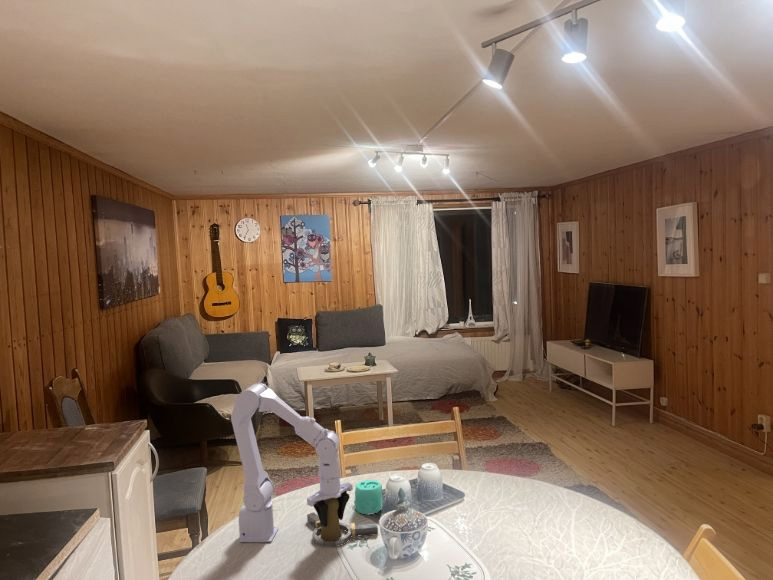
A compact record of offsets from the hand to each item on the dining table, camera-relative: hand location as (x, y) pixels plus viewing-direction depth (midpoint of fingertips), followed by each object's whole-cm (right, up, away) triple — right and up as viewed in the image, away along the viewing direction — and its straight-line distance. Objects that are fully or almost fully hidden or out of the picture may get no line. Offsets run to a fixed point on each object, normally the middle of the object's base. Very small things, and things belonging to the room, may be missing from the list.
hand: (331, 521), depth 161 cm
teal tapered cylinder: (+10, -3, +17) cm, 20 cm away
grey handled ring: (+2, -4, +3) cm, 5 cm away
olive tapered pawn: (0, -5, +1) cm, 5 cm away
